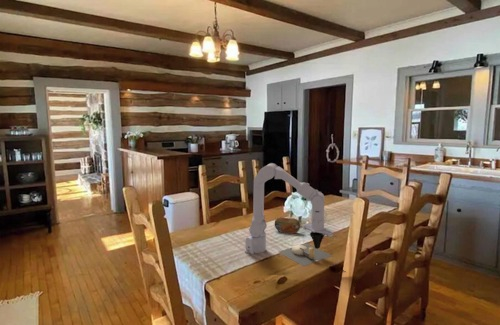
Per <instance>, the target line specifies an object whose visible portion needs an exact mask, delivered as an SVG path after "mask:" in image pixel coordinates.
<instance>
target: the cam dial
mask: <svg viewBox="0 0 500 325" xmlns="http://www.w3.org/2000/svg"><path fill="white" fill-rule="evenodd" d="M291 248H292V253H293V254H296V255H305V256H307V257H308V258H310V259H314V248H312V247H310V248H309V252H308V251H307V247H306V246H303V245H302V244H296V245H293V246H292V247H291Z"/></svg>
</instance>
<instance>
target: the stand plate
mask: <svg viewBox="0 0 500 325" xmlns="http://www.w3.org/2000/svg"><path fill="white" fill-rule="evenodd" d="M301 245H303V246H306V247H307V251H308V252H309V248H310V247H312V248H314V259H310V258H308V257H307V256H305V255H296V254H293V253H292V247H288V248H286V249H282V250H279V251H278V254H280V255H282V256H284V257H286V258H288V259H289V260H292V261H294V262H295V263H297V264H298V265H301V266H303V267H305V266H308V265H312V264H314V263H317V262H320V261H323V260H325V259H328V258H331V257H333V255H332V254H330V253H328V252H326V251H324V250H321V249H320V248H318V249H316V248H315V246H312V245H310V244H308V243H302V244H301Z"/></svg>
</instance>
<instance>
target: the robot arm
mask: <svg viewBox="0 0 500 325" xmlns="http://www.w3.org/2000/svg"><path fill="white" fill-rule="evenodd" d="M273 178H274V180H282V181H284V182H285V183H287V184H289V185H290V186H291V187H293V188H295V189H296V193H297V194H298V195H300V196H301V197H303V198H304V199H305V200H307V201H309V202H310V204H311V212H310V213H311V215H310V216H311V218H310V220H311V221H310V224H304V225H303V226H302V228H303V231H304V230H305V231H306V230H307V231H310V232H309V236H310V238H311V241H313V242H312V243H313V245H314V246H313V247H315V248H316V249H320V247H321V244H322V241H323V239H324V237H325V236H327V237H329V238H332V237H333V235H334V234H333V231H332V230H329V229H327V228H325V199H326V197H325V195H324V193H322V191H319V190H318V189H315V188H313V187H312V186H310V183H308V182H305V181H304V182H300V181H299V180H297V179H296V178H295V177H294V176H292V175H291V174H290V173H288V172H287V171H286V170H285V169H284V168H282V167H281V166H280V165H279V166H278V165H277V164H276V163H273V162H270V163H268V164H267V165H264V166H263V167H262V168H260V169H259V170H258V172H257V174H256V175H255V176H254V179H253V194H252V196H253V199H252V200H253V202H252V203H253V204H252V206H253V208H252V209H253V211H252V212H253V213H252V219H251V224H250V227H249V234H250V235H249V236H248V237H246V238H245V250H244V252H245V254H248V253H249V254H251V255H255V254H260V253H264V252H266V249H267V244H266V243H267V239H266V238H267V237H266V236H267V234H266V229H267V223H266V218H265V217H266V216H265V215H264V213H265V209H264V208H265V206H264V205H265V183H266V182H267V181H269V180H271V179H273Z"/></svg>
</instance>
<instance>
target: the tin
mask: <svg viewBox="0 0 500 325" xmlns="http://www.w3.org/2000/svg"><path fill="white" fill-rule="evenodd" d="M274 227H275V229H276V230H277V231H278V232H280V233H288V234H296V233H298V232H299V231H300V229H301V223H300V221H299V220H298V219H296V218H294V217H285V216H280V217H277V218H276V219H275V220H274Z"/></svg>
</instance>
